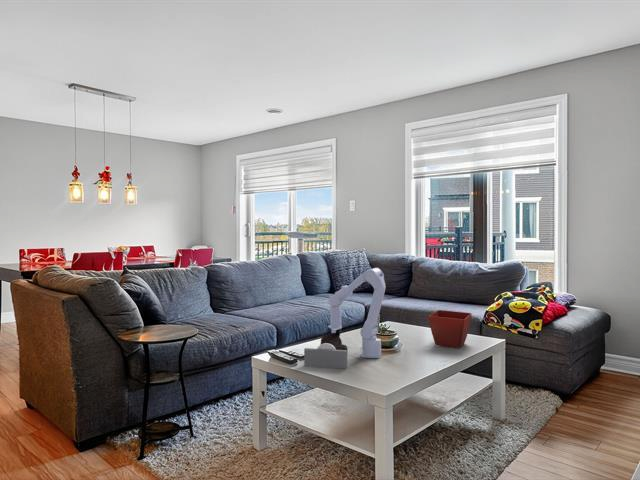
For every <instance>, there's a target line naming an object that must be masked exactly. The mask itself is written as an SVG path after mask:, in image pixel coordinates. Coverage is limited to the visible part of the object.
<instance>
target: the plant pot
mask: <svg viewBox="0 0 640 480" xmlns="http://www.w3.org/2000/svg"><path fill="white" fill-rule="evenodd" d="M472 314H473V313H471V312H466V311H465V312H464V311H453V310H442V309H438V310H436V311H434V312H432V313H431V314H429V315H428V320H429V321H428V322H429V326H430V327H429V328H430V331H431V332H430V333H431V334H432V337H433V341H434V343H435V346H436V345H437V346H436V347H444V348H445V347H446V348H452V349H460V348H462V346H464V344H465V342H466V341H467V340H466V339H467V338H468V334H469V330H470V327H471V320H472Z"/></svg>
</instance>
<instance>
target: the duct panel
mask: <svg viewBox="0 0 640 480" xmlns="http://www.w3.org/2000/svg"><path fill="white" fill-rule="evenodd" d="M320 344H321V343H320ZM320 344H319V346H317V348H312V347H311V348H310V347H305V348H304V350H303V351H304V352H303V360H304V361H303V362H304V363H303V364H304V365H303V366H304V367H312V368H313V367H314V368H315V367H316V368H327V369H330V368H331V369H345V370H347V369H348V353H347V350H348V349H347V350H336V349H335V347H334V346H333V345H331V344H329V343H324V344H321V345H320Z"/></svg>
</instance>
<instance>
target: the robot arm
mask: <svg viewBox="0 0 640 480" xmlns="http://www.w3.org/2000/svg"><path fill="white" fill-rule="evenodd" d="M366 282H367V283H369V284H370V285H371V286H372V287H373V294H372V299H371V302H370V307H369V310H368V314H367V318H366V320H365V322H364V324H363V327H362V328H361V329H360V332H359V333H360V336H361V339H362V341H361V342H362V344H361V346H362V347H361V349H362V350H361V351H362V352H361V355H360V358H370V359H380V358H381V356H382V339H381V338H377V337H378V336H377V335H378V333H379V322H378V320H379V315H380V312H381V307H382V304H383V300H384V296H385V292H386V282H385V274H384V272H383V271H382V270H381V269H380V268H379V267H374V268H371V269H370V268H369V269H366V270H365V271H364V272H363V273H361V274H359V275H358V276H357V278H355V279H354V280H353V281H352V282H351V283H350V284H348V285H341V287H340V289H339V290H338V291H335V292H334V294H333V295H330V297H329V298H328V304H329V306H330V307H329V308H330V309H329V311H330V315H329V316H330V317H329V318H330V325H328V326H327V328H329V329H330V330H329V334H335V335H337V336H339V337H340V336H341V333H342V331H343V330H342V328H343V326H342V305H343V303H344V301H346V300H347V299H348V298H349V297H351V296H352V295H353V291H354V290H355V289H357V287H359V286H361V285H362V284H363V283H366ZM340 338H341V337H340Z"/></svg>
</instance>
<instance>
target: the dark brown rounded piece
mask: <svg viewBox="0 0 640 480" xmlns="http://www.w3.org/2000/svg"><path fill="white" fill-rule="evenodd" d="M324 343H329V344H331V345H333V346H334V347H335V349H336V350H347V354H348V350H349V349H348V345H346V344H343V341H342V339H341V337H339V336H337V335H335V334H331V333H328V334H324V335H323V336H322V337H321V339H320V344H319V346H320V345H321V344H324Z"/></svg>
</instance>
